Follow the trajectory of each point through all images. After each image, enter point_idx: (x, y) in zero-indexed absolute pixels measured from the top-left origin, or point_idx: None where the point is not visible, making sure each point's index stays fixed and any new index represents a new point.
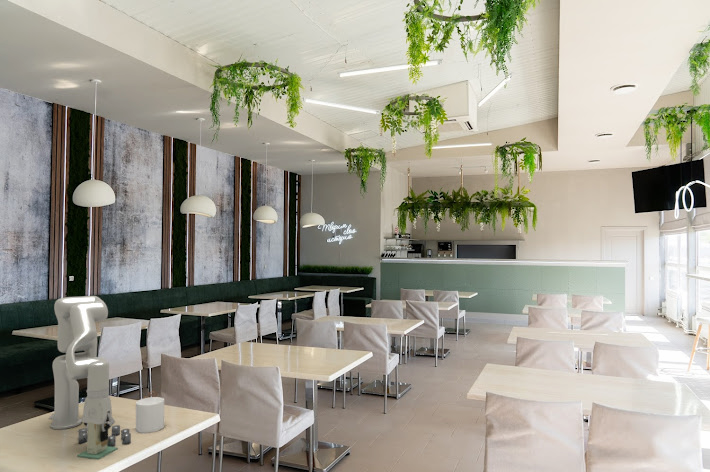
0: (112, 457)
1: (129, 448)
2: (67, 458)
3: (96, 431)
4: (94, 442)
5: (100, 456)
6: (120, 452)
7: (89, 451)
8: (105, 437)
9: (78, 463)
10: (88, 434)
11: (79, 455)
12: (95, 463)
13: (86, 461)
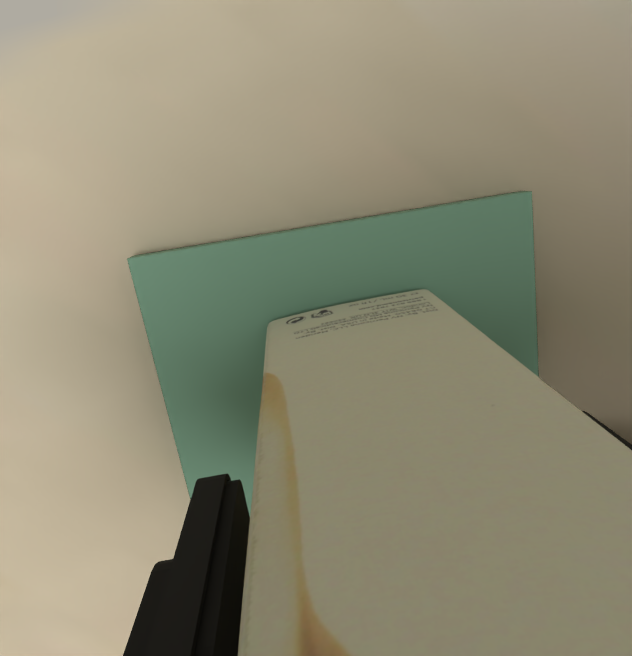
0: (20, 386)
1: (102, 644)
2: (603, 85)
3: (250, 593)
4: (306, 380)
5: (147, 306)
6: (85, 530)
7: (387, 301)
8: (156, 591)
9: (279, 19)
10: (563, 425)
11: (483, 198)
12: (32, 136)
13: (232, 130)
